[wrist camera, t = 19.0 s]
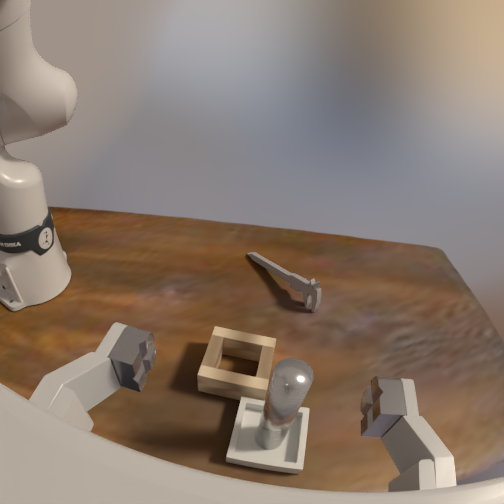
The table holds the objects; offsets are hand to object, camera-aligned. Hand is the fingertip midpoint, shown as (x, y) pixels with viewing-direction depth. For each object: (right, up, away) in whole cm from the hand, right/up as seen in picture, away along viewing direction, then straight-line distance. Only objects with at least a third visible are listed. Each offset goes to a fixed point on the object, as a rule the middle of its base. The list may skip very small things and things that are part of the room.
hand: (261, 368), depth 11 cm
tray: (+2, -19, +25) cm, 32 cm away
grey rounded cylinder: (+2, -19, +25) cm, 31 cm away
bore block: (-2, -13, +34) cm, 36 cm away
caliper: (+5, -2, +52) cm, 53 cm away
